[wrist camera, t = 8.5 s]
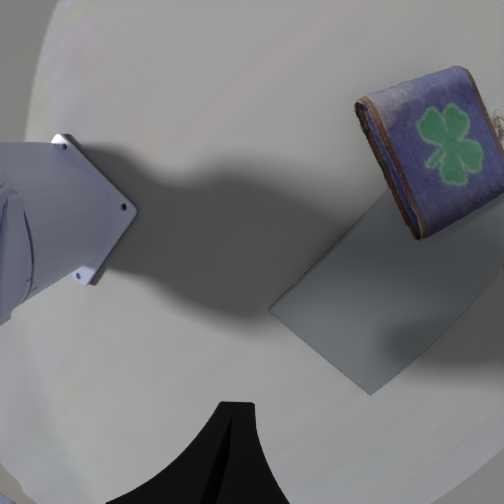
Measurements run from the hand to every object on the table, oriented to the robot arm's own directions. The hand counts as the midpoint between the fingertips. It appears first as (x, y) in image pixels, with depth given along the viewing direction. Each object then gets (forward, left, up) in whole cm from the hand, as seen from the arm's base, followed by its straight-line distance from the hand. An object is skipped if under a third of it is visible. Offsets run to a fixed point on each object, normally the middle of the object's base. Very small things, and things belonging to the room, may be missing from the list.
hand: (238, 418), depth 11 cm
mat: (+7, +11, -10) cm, 16 cm away
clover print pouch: (-1, +12, -8) cm, 15 cm away
